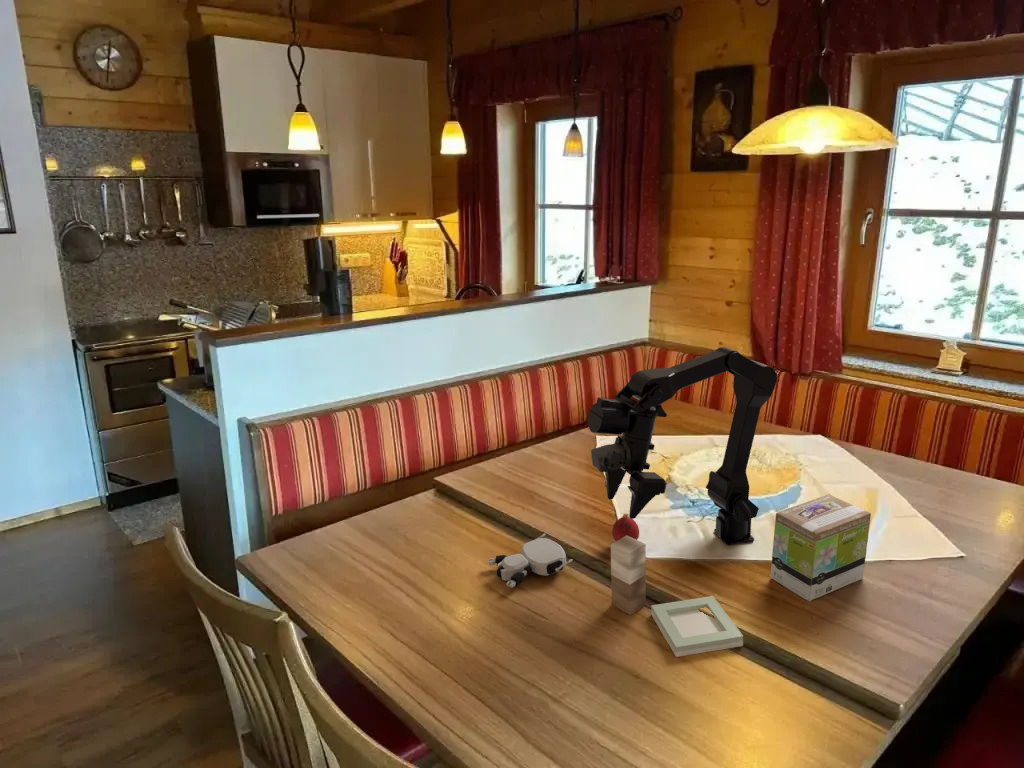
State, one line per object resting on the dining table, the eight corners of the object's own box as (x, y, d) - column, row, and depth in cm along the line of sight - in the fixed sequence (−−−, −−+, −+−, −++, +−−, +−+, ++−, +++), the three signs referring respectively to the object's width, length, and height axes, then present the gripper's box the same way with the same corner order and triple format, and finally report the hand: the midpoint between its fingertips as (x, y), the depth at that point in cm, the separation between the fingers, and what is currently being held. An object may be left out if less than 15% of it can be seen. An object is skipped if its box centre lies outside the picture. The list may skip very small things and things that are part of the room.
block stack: (627, 594, 137) (626, 535, 133) (645, 604, 133) (645, 543, 130) (611, 604, 134) (610, 544, 130) (630, 614, 131) (629, 553, 127)
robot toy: (511, 601, 139) (577, 574, 144) (508, 581, 137) (574, 555, 143) (486, 571, 150) (549, 547, 155) (483, 552, 148) (546, 529, 153)
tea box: (811, 604, 131) (816, 533, 126) (769, 578, 139) (772, 511, 135) (865, 579, 137) (872, 511, 133) (822, 556, 146) (827, 491, 141)
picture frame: (712, 605, 132) (712, 595, 131) (742, 645, 121) (743, 636, 120) (651, 614, 130) (651, 605, 130) (676, 657, 119) (676, 647, 118)
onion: (638, 554, 150) (638, 521, 148) (611, 553, 151) (611, 520, 149) (639, 540, 156) (639, 508, 153) (613, 539, 157) (612, 507, 154)
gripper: (580, 418, 145) (566, 488, 148) (624, 449, 128) (607, 528, 131) (627, 421, 149) (612, 490, 152) (676, 452, 132) (657, 529, 135)
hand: (620, 508), depth 142 cm, fingers open, 9 cm apart
